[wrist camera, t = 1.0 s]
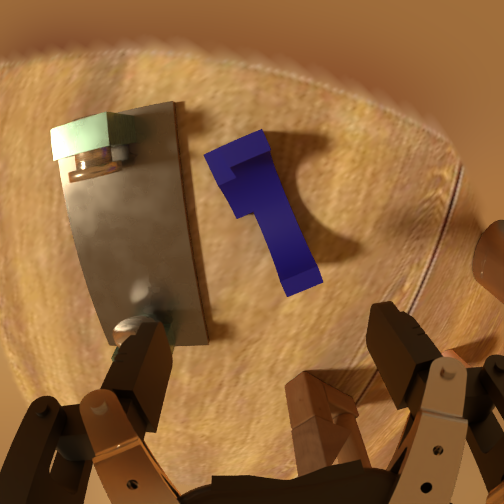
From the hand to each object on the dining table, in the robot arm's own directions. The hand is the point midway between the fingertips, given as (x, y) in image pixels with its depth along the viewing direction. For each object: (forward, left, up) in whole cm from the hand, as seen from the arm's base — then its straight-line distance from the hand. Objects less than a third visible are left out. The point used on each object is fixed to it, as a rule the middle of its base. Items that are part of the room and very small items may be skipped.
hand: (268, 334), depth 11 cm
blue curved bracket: (-1, -1, -17) cm, 17 cm away
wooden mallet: (-7, +24, -17) cm, 30 cm away
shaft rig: (+12, +1, -16) cm, 20 cm away
